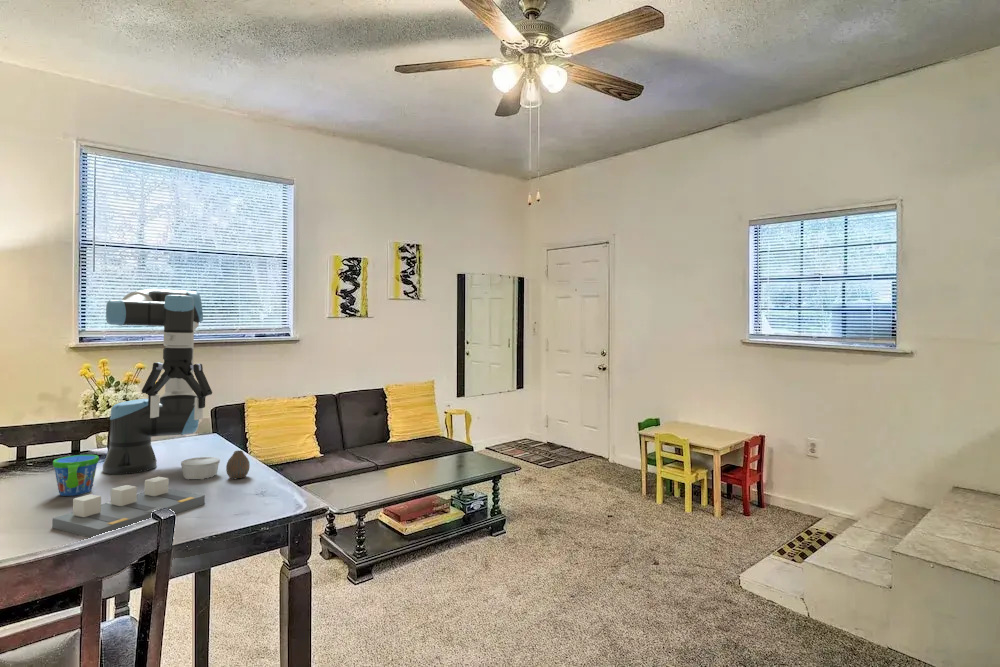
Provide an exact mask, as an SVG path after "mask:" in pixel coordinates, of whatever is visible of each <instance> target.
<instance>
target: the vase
mask: <svg viewBox="0 0 1000 667" xmlns="http://www.w3.org/2000/svg"><path fill="white" fill-rule="evenodd" d="M250 466H251V465H250V461H249V458H248V457H247V456H246V455H245V454H244V451H243V450H234V452H233V454H232V455H231V456H230V458H228V460H227V462H226V466H225V469H226V470H225V471H226V474H227V476H228V477H229V479H231V478H242V477H244V478H245V477H246V476H247V475H249V471H250ZM242 479H243V478H242Z"/></svg>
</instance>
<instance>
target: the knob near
mask: <svg viewBox="0 0 1000 667" xmlns="http://www.w3.org/2000/svg"><path fill="white" fill-rule="evenodd" d="M101 504H102V496H101V495H95V494H92V493H91V494H86V495H83V496H79V497H75V498H73V499H72V512H73V515H75V516H80V517H87V516H90V515H93V514H97V513H100V512H101Z"/></svg>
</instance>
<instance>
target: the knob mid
mask: <svg viewBox="0 0 1000 667" xmlns="http://www.w3.org/2000/svg"><path fill="white" fill-rule="evenodd" d="M110 489H111V490H110V501H111V504H113V505H117V506H124V505H127V504H131V503H134V502H137V494H138V492H137V491H138V488H137V486H134V485H129V484H124V485H121V486H117V487H114V488H113V487H112V488H110Z"/></svg>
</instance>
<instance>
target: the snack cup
mask: <svg viewBox="0 0 1000 667" xmlns="http://www.w3.org/2000/svg"><path fill="white" fill-rule="evenodd" d="M99 461H100V457H99V455H97V454H77V455H68V456H64V457H63V456H62V457H59V458H55V459H54V460H52V467H53V468H54V471H55V472H54V473H55V480H56V483H57V489H58V494H59V495H60V496H61V497H63V496H65V497H70V496H71V497H72V496H79V495H80V496H81V495H84V494H86V493H90V491H92V489H93V486H94V481H95V477H96V470H97V465H98V463H99Z"/></svg>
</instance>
